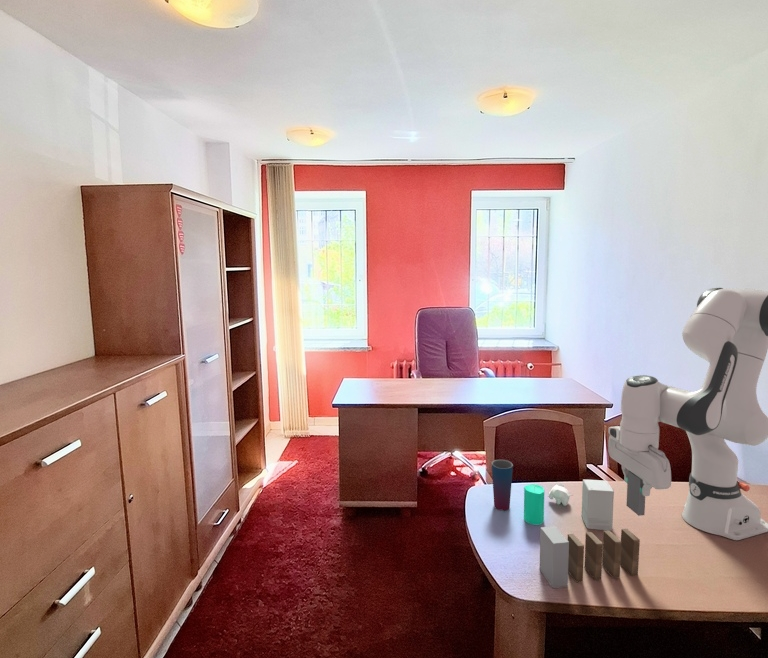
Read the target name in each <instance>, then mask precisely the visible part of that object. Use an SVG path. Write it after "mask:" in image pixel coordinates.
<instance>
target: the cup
mask: <svg viewBox="0 0 768 658" xmlns="http://www.w3.org/2000/svg"><path fill="white" fill-rule="evenodd" d="M513 468H514V464H513V463H512V462H511V461H509V460H507V459H495V460H492V461H491V473H492V474H491V475H492V477H491V478H492V492H493V493H492V494H493V507H494V508H495V509H497V510H499V511H508V510H509V509H510V507H511V495H512V494H511V493H512V481H513Z"/></svg>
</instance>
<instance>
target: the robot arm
mask: <svg viewBox="0 0 768 658" xmlns="http://www.w3.org/2000/svg"><path fill="white" fill-rule="evenodd" d="M681 334H682V340H683V342H684V344H685V345H686V347H687V348H688V349H689V350H690V351H691V352H692V353H693V354H694V355H696V356H697V357H699V358H701V359H703V360H705V361H707V362H708V363H709V367H708V369H707V372H706V375H705V378H704V381H703V383H702V386H701V388H700V389H699V390H696V391H691V390H686V389H682V388H678V387H674V386H673V385H672V386H671V385H668V384H664V383H661V382H660V381H659V379H658V378H656V377H655V376H652V375H645V374H643V375H642V374H641V375H640V374H639V375H637V374H636V375H632V376H630V377H628V378H627V379H626V380H625V381H624V383H623V388H622V391H621V398H620V413H621V420H620V422H619V423H620V424H619V425H616V426H610V427H608V434H609V437H608V442H607V443H608V444H607V445H608V451H607V452H608V454H609V457H610V458H611V459H612V460H614V461H615V462H617V463H619V464H620V465H621V470H622V473H623V475H624V476H623V478H624V479H623V481H624V482H625V483H626V484H627V481H628V471H631V472H632V473H634V474H635V475H637V476H638V477H639V478H641V479H642V480H643V483H644V486H643V487H640V493H641V494H642V495H644V496H645V497H649V496H650V495H651V489H652V488H654V489H655V490H669V488H671V485H672V470H671V464H670V460H669V459H668V458H667V456H666V454H665V452H664V451H662V450H660V449H659V446H660V445H659V442H660V425H659V423H660V422H661V423H663V424H667V425H671V426H673V427H676V428H680V429H681V430H683V431H685V432H686V434H687V437H688V440H689V443H690V447H691V448H690V449H691V472H690V473H689V478H688V486H689V487H688V488H689V489H688V493H687V497H686V502H685V503H684V505H683V506H684V507H683V508H684V509H683V511H682V514H681V516H682V518H683V520H684V521H685V522H686V523H687V524H689V525H690V526H691V527H694V528H696V529H698V530H699V531H701V532H702V531H703V532H706V533H708V534H712V535H715V536H716V535H717V536H722V537H725V538H726V539H727V538H728V539H730V540H732V541H733V540H734V541H740V540H744V539H747V538H750V537H754V536H758V535H761V534H764V533H768V522H767V521H765V520H764V519H763V518H762V517H761V516H762V515H761V510H760V508H759V506H758V505H757V504H756V503H755V502H753V501H752V500H751V499H749V498H748V497H747V496H746V495H744V494H743V493H742V491H741V490H743V491H744V492H749V491H750V488H751V487H750V485H749V484H746V483H745V482H739V481H738V471H739V458H738V456H737V454H736V452H735V451H733V450H732V448H730V446H729V445H728V444H727V442H726V441H729V442H732V443H734V444H739V445H746V446H753V447H755V446H759V445H760V444H762V443H764V442H765V441H766V440H767V439H768V416H767V414H765V412H764V411H763V410H762V408H761V406H760V403H759V400H758V397H757V387H758V383H759V382H758V381H759V378H760V375H761V372H762V369H763V365H764V362H765V360H766V357H767V353H768V291H766V290H762V289H761V290H760V289H752V288H744V289H743V288H723V287H712V288H709V289H706V290H704V292H702V293H701V294H700V296H699V298H698V300H697V303H696V308H695V309H694V311H692V314H691V315H690V316H689V318H688V319H687V321H686V323H685V325H684V326H683V329H682V333H681ZM725 440H726V441H725Z"/></svg>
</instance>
